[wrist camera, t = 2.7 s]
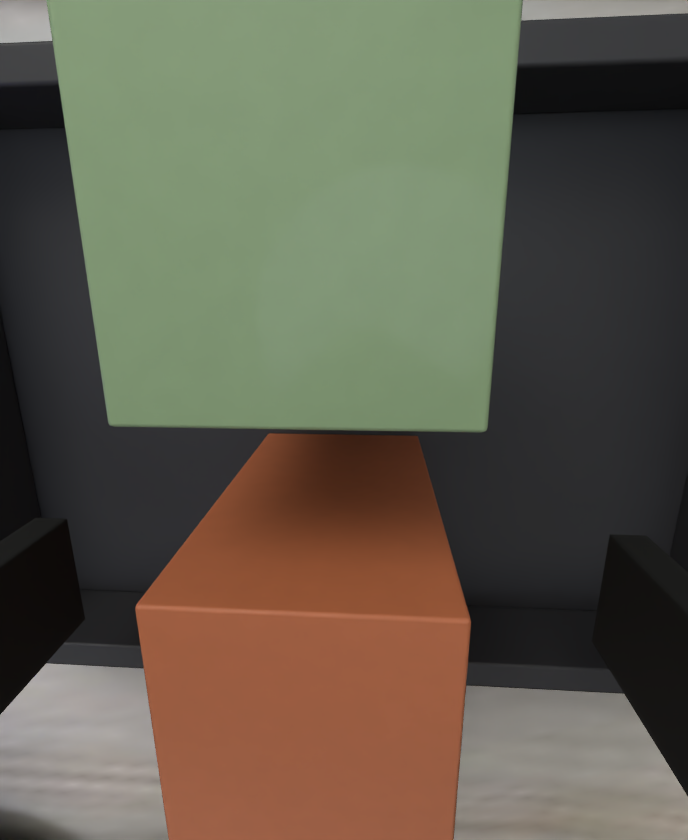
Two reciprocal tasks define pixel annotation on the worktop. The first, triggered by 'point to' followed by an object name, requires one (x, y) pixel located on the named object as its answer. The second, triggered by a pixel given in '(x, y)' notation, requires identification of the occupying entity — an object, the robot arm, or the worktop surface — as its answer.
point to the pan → (443, 451)
